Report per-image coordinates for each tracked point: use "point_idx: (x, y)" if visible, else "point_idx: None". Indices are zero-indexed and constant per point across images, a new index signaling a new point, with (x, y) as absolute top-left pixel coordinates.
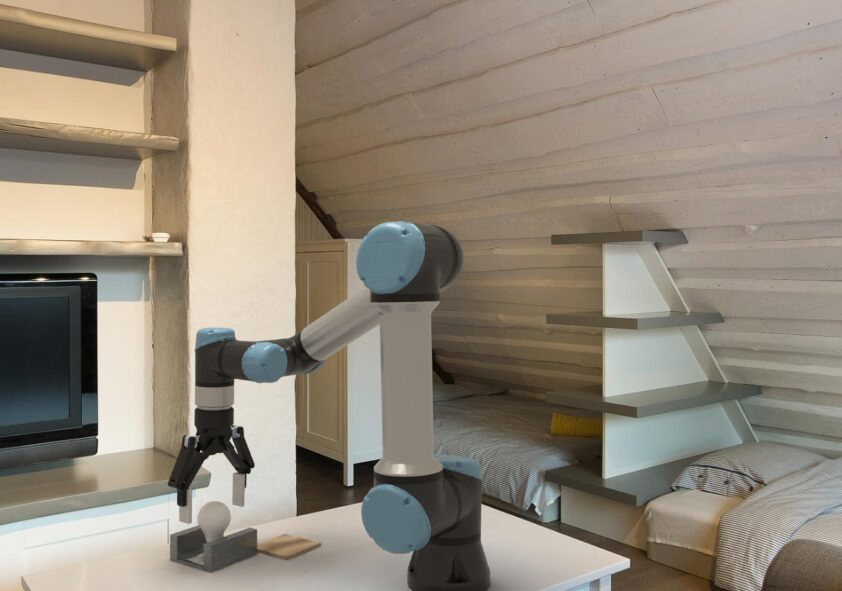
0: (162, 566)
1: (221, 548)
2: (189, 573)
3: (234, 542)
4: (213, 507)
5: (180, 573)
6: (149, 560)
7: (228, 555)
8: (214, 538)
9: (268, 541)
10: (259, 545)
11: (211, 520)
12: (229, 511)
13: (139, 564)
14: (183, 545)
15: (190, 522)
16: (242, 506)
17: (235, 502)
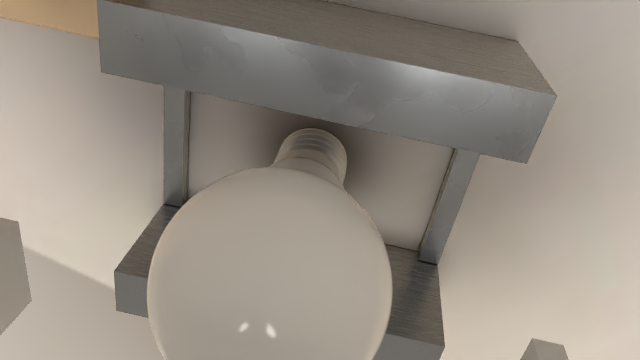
0: (500, 279)
1: (450, 59)
2: (554, 135)
3: (330, 37)
4: (315, 340)
5: (564, 173)
6: (452, 346)
7: (389, 28)
8: (337, 185)
9: (17, 5)
10: (91, 16)
11: (380, 261)
12: (191, 230)
13: (504, 355)
14: (400, 293)
15: (546, 347)
16: (8, 220)
17: (12, 291)
